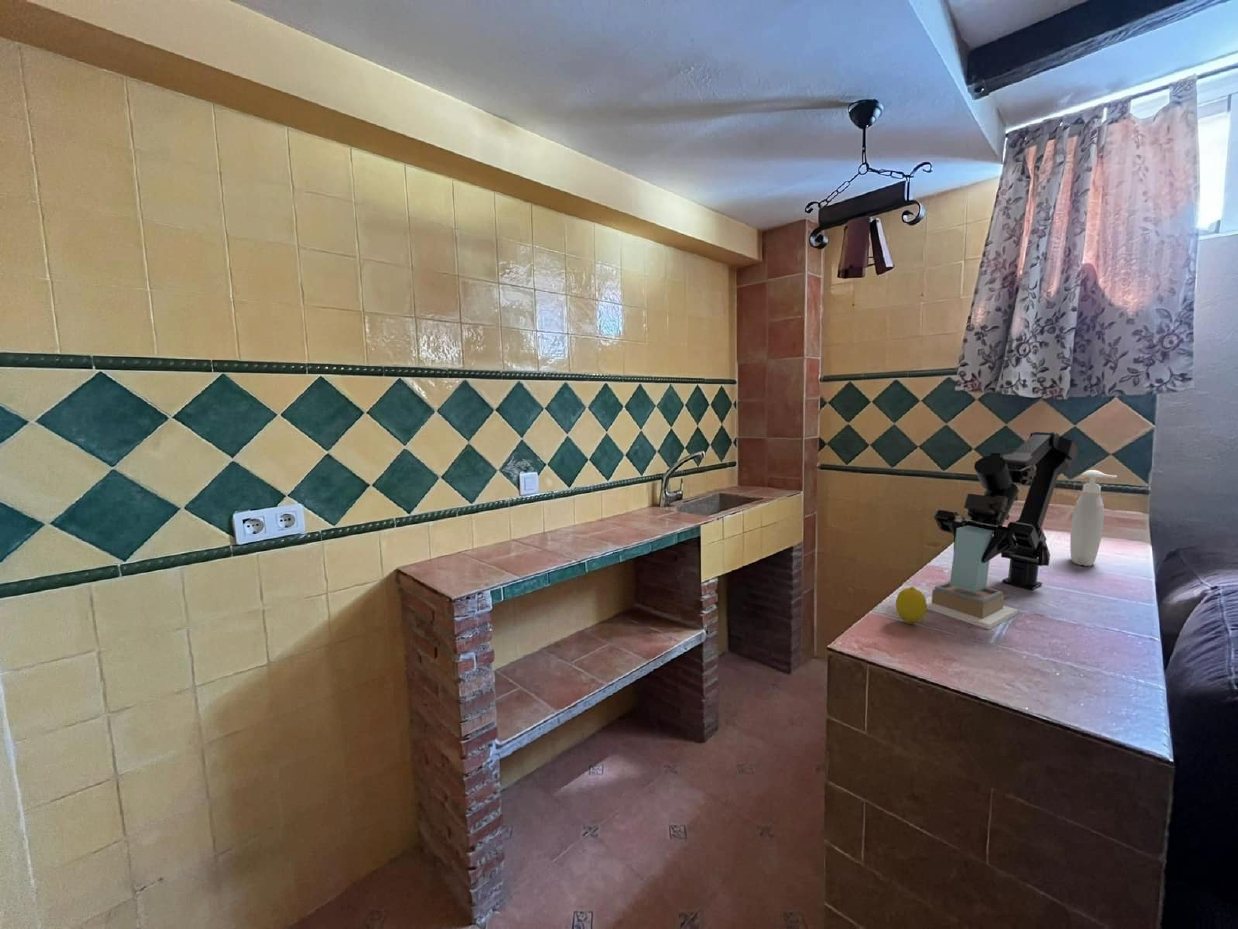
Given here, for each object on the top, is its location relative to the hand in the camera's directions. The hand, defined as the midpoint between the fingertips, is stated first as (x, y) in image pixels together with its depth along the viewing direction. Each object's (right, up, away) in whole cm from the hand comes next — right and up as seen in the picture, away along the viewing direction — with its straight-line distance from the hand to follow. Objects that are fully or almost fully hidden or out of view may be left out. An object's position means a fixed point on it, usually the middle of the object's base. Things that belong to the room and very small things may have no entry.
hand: (968, 558), depth 110 cm
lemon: (-16, -13, -5) cm, 21 cm away
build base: (+1, -12, +2) cm, 12 cm away
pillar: (+1, -6, +2) cm, 7 cm away
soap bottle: (+58, -8, +35) cm, 69 cm away
